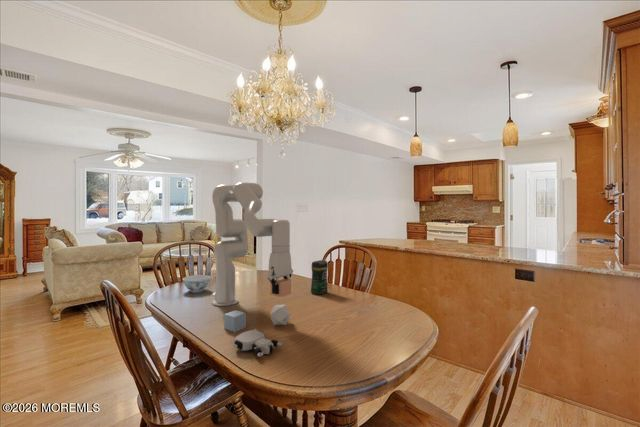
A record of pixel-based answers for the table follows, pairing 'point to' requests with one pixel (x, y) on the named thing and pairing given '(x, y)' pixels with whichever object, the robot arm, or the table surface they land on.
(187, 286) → the chinaware
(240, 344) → the robot toy
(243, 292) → the table surface
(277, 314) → the die
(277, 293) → the robot arm
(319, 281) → the coffee jar
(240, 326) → the slate block
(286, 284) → the terracotta block
